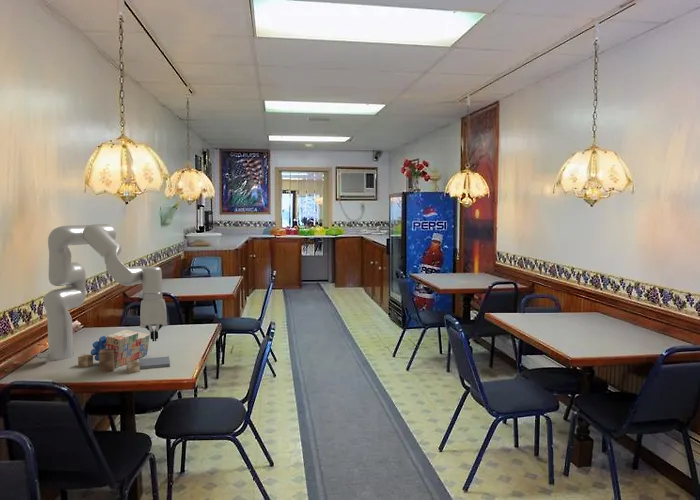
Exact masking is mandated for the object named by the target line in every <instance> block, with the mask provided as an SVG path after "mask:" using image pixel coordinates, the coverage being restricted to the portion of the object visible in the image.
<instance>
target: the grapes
mask: <svg viewBox="0 0 700 500" xmlns="http://www.w3.org/2000/svg"><path fill="white" fill-rule="evenodd" d="M106 341H107V336H105V335H101V336H100V337H99V338H98V341H97V340H95V341H94V342H93V343H92V347H93V348H91V350H90V355H93V356H94V357H93V360H95V361H97V362H99V352H100V350H101V349H105V346H106Z"/></svg>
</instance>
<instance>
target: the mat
mask: <svg viewBox="0 0 700 500" xmlns="http://www.w3.org/2000/svg"><path fill="white" fill-rule="evenodd" d="M138 361H139V365H140V370H146V369H147V370H148V369H156V368H166V367H167V368H168V367H169V368H170V367H171V360H170V356H169V355H168V356H160V357H158V356H157V357H145V358H138Z"/></svg>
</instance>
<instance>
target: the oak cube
mask: <svg viewBox="0 0 700 500" xmlns="http://www.w3.org/2000/svg"><path fill="white" fill-rule="evenodd" d="M77 364H78V365H77V366H78V368H79V367H80V368H81V367H82V368H83V367H84V368H85V367H86V368H87V367H91V366H93V365H94V355H92V354H86V353H84V354H82V355H79V356H77Z"/></svg>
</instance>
